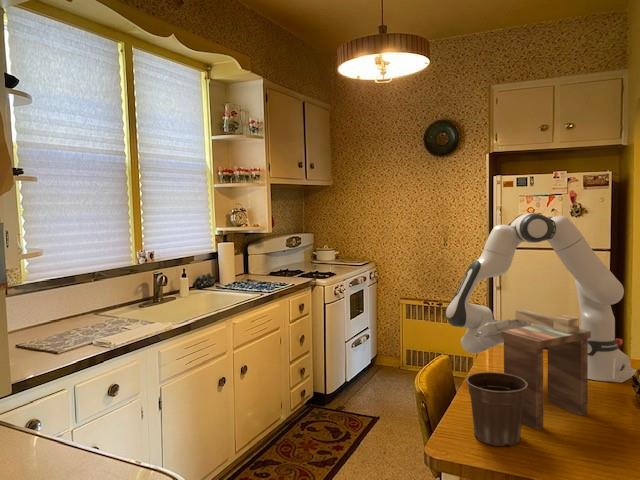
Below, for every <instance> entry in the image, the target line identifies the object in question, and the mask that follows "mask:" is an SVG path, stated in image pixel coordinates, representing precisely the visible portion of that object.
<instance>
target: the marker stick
mask: <svg viewBox="0 0 640 480" xmlns="http://www.w3.org/2000/svg"><path fill="white" fill-rule="evenodd" d="M514 317H515V318H514V319H516V320H520V321H524V322H528V323H531V325H532V324H533V325H541V326H545V327H549V328H553V329H554V330H557V331H561V332H565V333H571V332H576V331H579V329H580V317H578V316H577V317H576V316H572V315H567V314H562V315H558V316H557V315H556V316H554V315H553V316H552V315H548V314H544V313H540V312H539V313H538V312H533V311H531V310H530V311H529V310H525V309H518V310H515V315H514Z"/></svg>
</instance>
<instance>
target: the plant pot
mask: <svg viewBox="0 0 640 480" xmlns="http://www.w3.org/2000/svg"><path fill="white" fill-rule="evenodd" d="M465 381H466V384H467V386H468V395H469V396H470V402H471V413H472V414H471V415H472V422H473V434H474V437H476V438H477V440H478V441H480V442H482V443H484V444H486V445H489V446H495V447H504V446H509V447H511V446H515V445H517V444H518V443H520V441H521V433H522V432H521V431H522V423H521V422H522V412H523V402H524V400H525V392H526V388H527V387H528V383H527V382H526V381H525V380H524V379H522V378H520V377H517V376H514V375H510V374H505V373H504V372H497V371H485V372H483V371H482V372H481V371H480V372H476V373H472V374H470V375H468V376H467V377H466V379H465Z"/></svg>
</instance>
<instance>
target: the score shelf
mask: <svg viewBox="0 0 640 480" xmlns="http://www.w3.org/2000/svg"><path fill="white" fill-rule="evenodd" d="M501 338H504V342H503V373H505V374H510V375H514V376H517V377H520V378H522V379H524V380H525V381H526V382H527V383H528V387H527V388H526V392H525V400H524V402H523V412H522V422H521V424H523V425H525V426H528V427H529V428H532V429H533V430H540V429H543V428H544V348H547V403H548V404H550V405H553V406H555V407H558V408H561V409H563V410H565V411H566V412H567V411H568V412H570V413H572V414H575V415H578V416H580V417H582V416H585V415H588V401H589V400H588V397H589V396H588V395H589V394H588V384H589V381H588V338H591V331H586V330H582V329H581V328H579V331H576V332H571V333H565V332H561V331H557V330H554V329H553V328H549V327H545V326H541V325H537V324H533V325H532V324H531V326H527V327H521V328H515V329H510V330H506V331H501Z"/></svg>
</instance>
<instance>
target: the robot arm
mask: <svg viewBox="0 0 640 480" xmlns="http://www.w3.org/2000/svg"><path fill="white" fill-rule="evenodd" d="M544 241H546V242H548V244H550V246H551V248H552V249H553V251H554V252H555V254H556V255H557V258H559V260H560V261H561V263H562V265H563V266H564V267H565V269H566V270H567V271H569V272H570V274H571V275H572V276H573V278H574V286H575V289H576V293H577V300H578V301H577V302H578V307H579V312H580V329H582V330H586V331H591V338H588V379H589V380H592V381H593V380H594V381H598V382H599V381H600V382H613V383H624V382H625V381H628V380H630V379H631V378H633V377H632V376H633V375H634V374H635V372H636V371H637V369H634V368H632V366H631V359H630V357H629V356H628V355H627V354H626V353H624V352H623V351H621V349H620V348H619V346H618V345H622V344H623V341H624V340H623V339H622V338H617V337H616V318H615V316H614V312H613V309H612V306H611V305H615V304H617V303H619V302H620V301H621V300H622V299H623V297H624V293H625V289H624V286H623V284H622V283H621V281H619V279H618V278H617V277H616V275H614V273H613V272H611V270H610V269H609V268H608V266H607V265H606V264H605V262H603V261H602V260H601V258H599V256H598V255H597V254H596V252H595V251H594V249H592V247H591V246H590V244H589V242H588V241H587V240H586V238H585V236H584V235H583V234H582V233H581V231H580V230H579V229H578V228H577V226H576V225H575V224H574V223H573V222H572V220H570V219H569V218H568V217H567V216H565V215H556V216H553V217H551V218H549V217H547V216H546V215H543V214H541V213H535V212H527V213H523V214H519V215H517V216H516V217H514V219H513V220H512V221H510V223H508V224H497V225H495V226H494V227H493V228H492V230H491V231H490V233H489V235H488V237H487V239H486V242H485V244H484V247H483V251H482V253H481V254H480V255H479V257H478V259H476V260H475V261H473V262H472V263H470V264H469V266H468V268H467V270H466V271H465V274H464V276H463V277H462V279H461V282H460V283H459V284H458V285H459V286H458V288H457V289H456V292H455V294H454V295H453V297H452V299H451V300H450V302H449V303H448V304H447V306H446V308H445V313H444V315H445V317H446V320H447V322H448V323H449V324H450V325H451V326H452V327H457V328H465V329H466V331H465V333H464V335H463V336H462V337H461V339H460V344H461V347H462V348H463V350H465V351H466V352H467V353H470V354H479V353H483V352H485V351H487V350H489V349H490V348H494V347H496V346H498V345H500V344H504V338H501V331H506V330H510V329H515V328H521V327H527V326H532V323H528V322H524V321H520V320H516V319H515V318H511V319H505V320H497V319H495V316H494V312H493V311H492V309H490V307H488V306H485V305H480V304H474V303H472V302H469V299H470V297H471V296H472V294H473V292H474V289H475V288H476V286H477V284H478V283H479V282H481V281H482V280H484V279H488V278H495V277H499V276H502V275H504V274H506V273H507V272H508V271H509V269H510V268H511V266H512V262H513V259H514V256H515V253H516V249H517V248H518V246H519V245H520V244H521V243H523V242H525V243H541V242H544ZM615 337H616V338H615Z"/></svg>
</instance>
